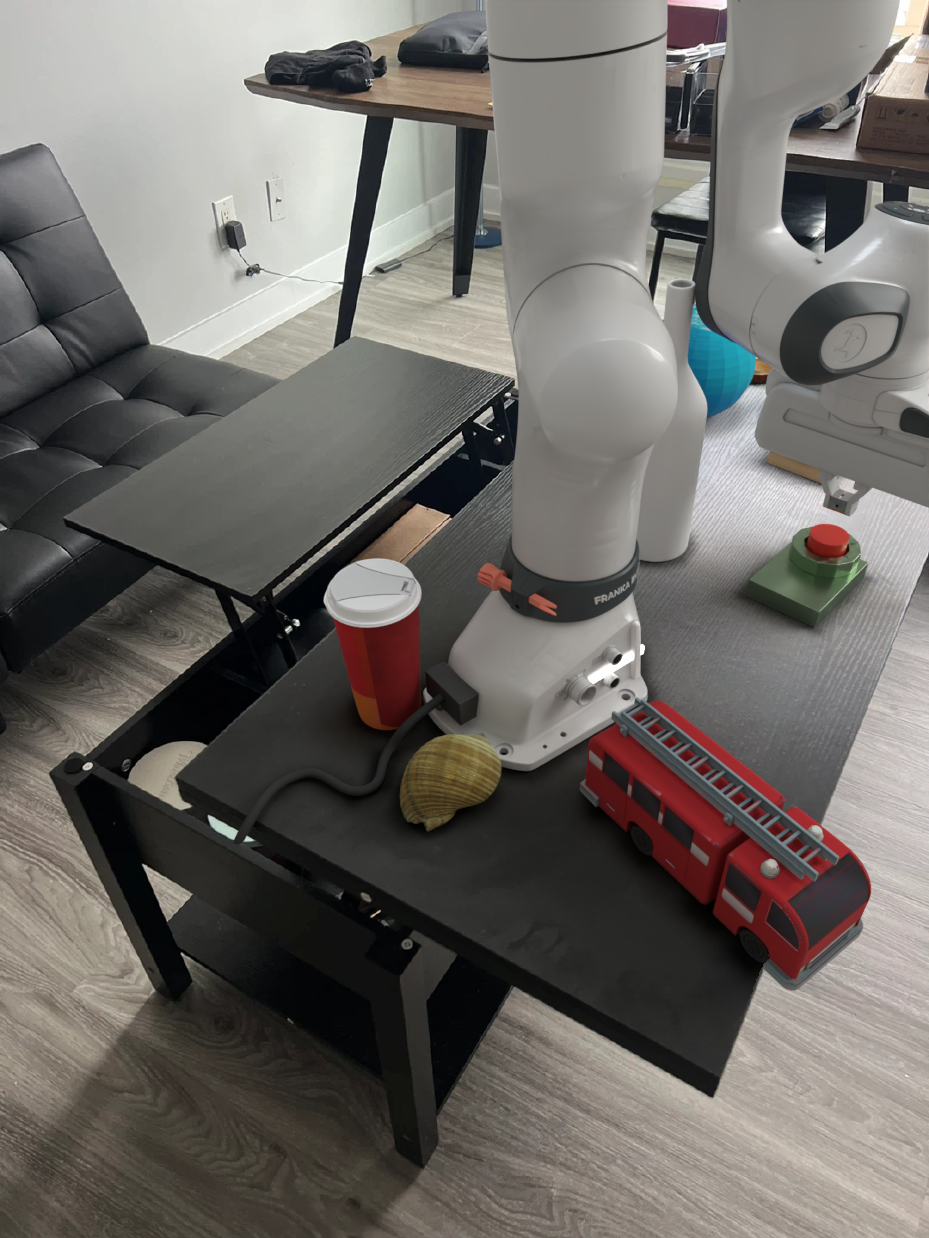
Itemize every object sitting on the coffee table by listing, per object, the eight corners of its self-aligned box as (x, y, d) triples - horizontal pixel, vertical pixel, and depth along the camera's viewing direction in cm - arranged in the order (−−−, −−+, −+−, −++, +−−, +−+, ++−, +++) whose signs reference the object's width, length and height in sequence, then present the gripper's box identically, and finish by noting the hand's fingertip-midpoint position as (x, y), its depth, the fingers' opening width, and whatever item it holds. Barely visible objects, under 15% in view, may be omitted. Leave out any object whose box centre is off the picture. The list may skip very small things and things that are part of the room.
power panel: (829, 486, 113) (835, 464, 111) (762, 461, 118) (767, 439, 116) (872, 449, 119) (879, 427, 117) (807, 426, 124) (812, 405, 122)
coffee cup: (440, 681, 89) (429, 557, 79) (422, 744, 83) (407, 618, 73) (358, 673, 90) (337, 551, 80) (334, 734, 84) (308, 609, 74)
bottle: (650, 571, 101) (680, 307, 81) (602, 537, 106) (620, 281, 87) (703, 545, 104) (744, 285, 84) (654, 514, 109) (682, 261, 90)
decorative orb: (616, 417, 128) (626, 313, 118) (671, 378, 136) (684, 278, 126) (713, 450, 120) (731, 342, 110) (764, 406, 129) (785, 302, 119)
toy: (788, 1002, 63) (819, 925, 57) (576, 798, 78) (581, 717, 71) (861, 938, 67) (898, 858, 60) (645, 754, 81) (656, 673, 75)
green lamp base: (814, 628, 93) (823, 598, 90) (745, 595, 97) (751, 565, 95) (867, 574, 99) (877, 545, 97) (800, 545, 104) (807, 517, 101)
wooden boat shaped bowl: (814, 369, 137) (817, 357, 136) (823, 385, 133) (826, 374, 132) (718, 369, 138) (720, 358, 137) (724, 386, 134) (726, 375, 133)
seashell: (432, 856, 78) (477, 847, 72) (369, 809, 77) (408, 795, 70) (482, 765, 83) (528, 749, 77) (423, 719, 82) (465, 699, 75)
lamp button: (834, 563, 95) (838, 550, 94) (799, 548, 97) (802, 535, 96) (852, 546, 97) (856, 533, 96) (817, 532, 99) (821, 519, 98)
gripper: (755, 368, 89) (734, 487, 98) (968, 433, 78) (922, 561, 87) (787, 346, 93) (764, 463, 102) (996, 406, 81) (949, 532, 91)
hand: (839, 509), depth 94 cm, fingers closed
